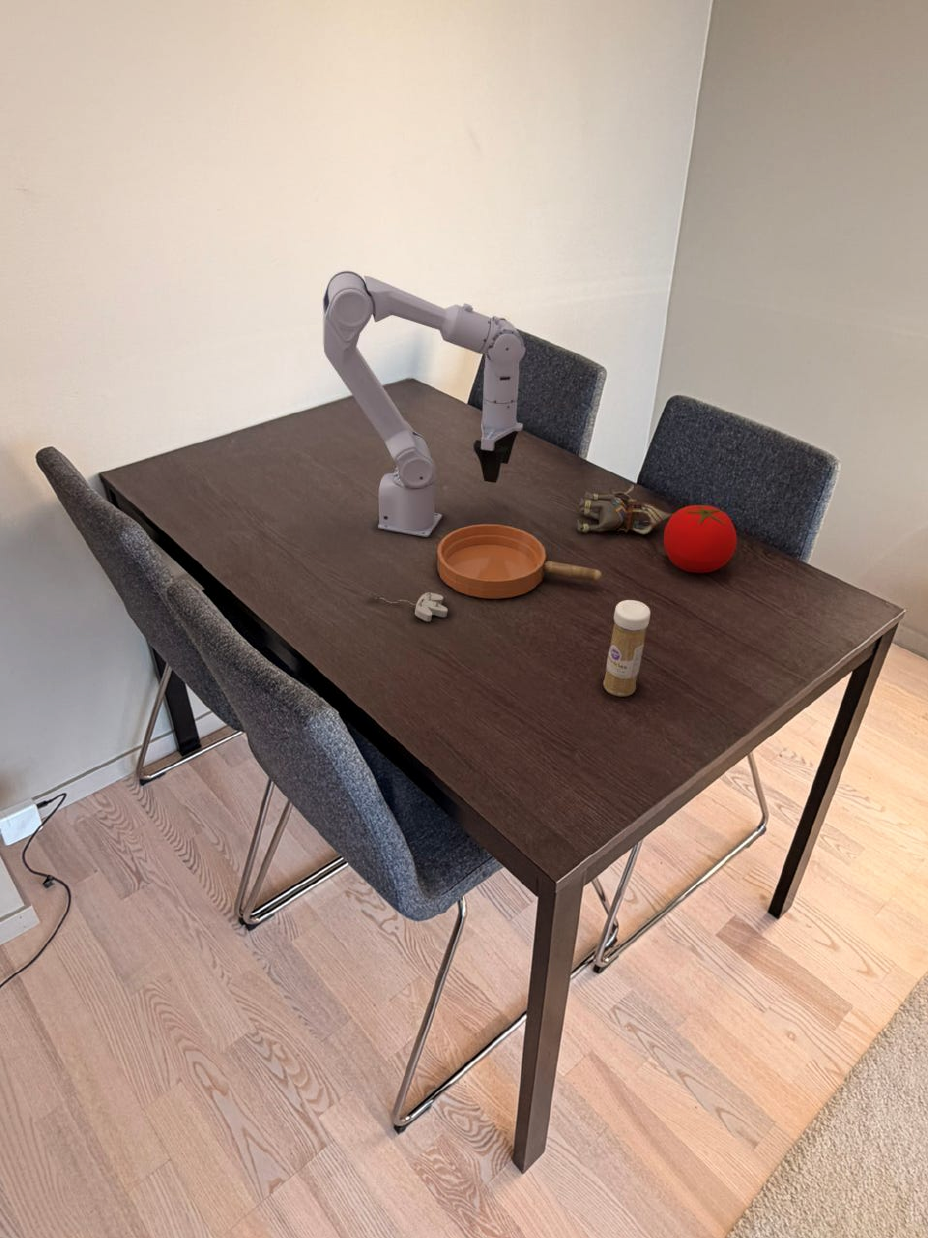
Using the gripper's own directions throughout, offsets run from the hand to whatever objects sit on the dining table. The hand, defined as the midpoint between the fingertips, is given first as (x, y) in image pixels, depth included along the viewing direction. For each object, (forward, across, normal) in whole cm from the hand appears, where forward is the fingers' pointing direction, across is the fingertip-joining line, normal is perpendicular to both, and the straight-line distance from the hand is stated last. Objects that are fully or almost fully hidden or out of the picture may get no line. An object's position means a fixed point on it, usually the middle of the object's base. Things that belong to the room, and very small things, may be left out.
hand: (496, 471), depth 152 cm
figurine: (+10, +6, -23) cm, 26 cm away
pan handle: (+8, -16, -18) cm, 25 cm away
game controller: (+10, -31, +4) cm, 33 cm away
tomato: (+10, -3, -36) cm, 37 cm away
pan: (+9, -17, -4) cm, 20 cm away
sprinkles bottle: (+10, -39, -29) cm, 50 cm away
